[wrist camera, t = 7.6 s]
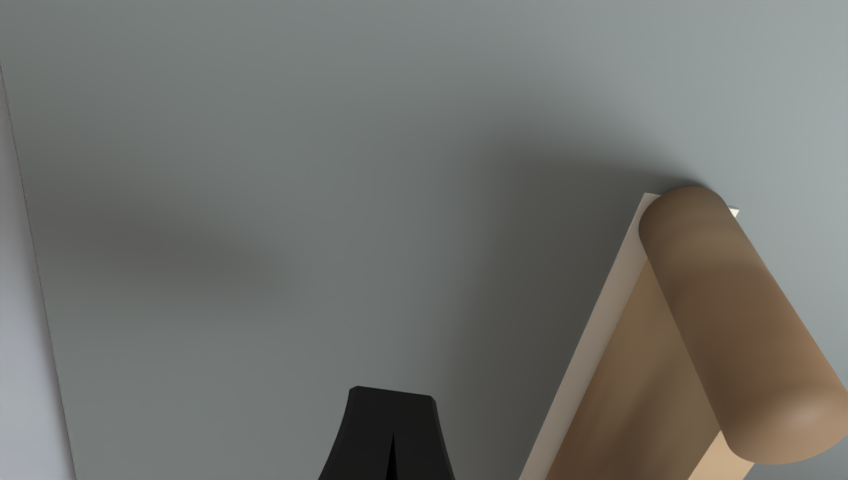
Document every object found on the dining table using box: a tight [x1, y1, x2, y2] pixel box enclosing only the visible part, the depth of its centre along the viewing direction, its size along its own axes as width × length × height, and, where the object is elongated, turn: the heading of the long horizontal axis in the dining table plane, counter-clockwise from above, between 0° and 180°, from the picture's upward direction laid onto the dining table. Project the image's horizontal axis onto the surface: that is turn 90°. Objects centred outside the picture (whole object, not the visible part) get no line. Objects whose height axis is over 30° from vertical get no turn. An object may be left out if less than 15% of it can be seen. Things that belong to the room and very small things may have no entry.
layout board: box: [0, 0, 848, 480], centre depth 16 cm, size 22×21×1 cm
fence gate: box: [545, 186, 848, 480], centre depth 13 cm, size 10×2×5 cm, turn 170°
